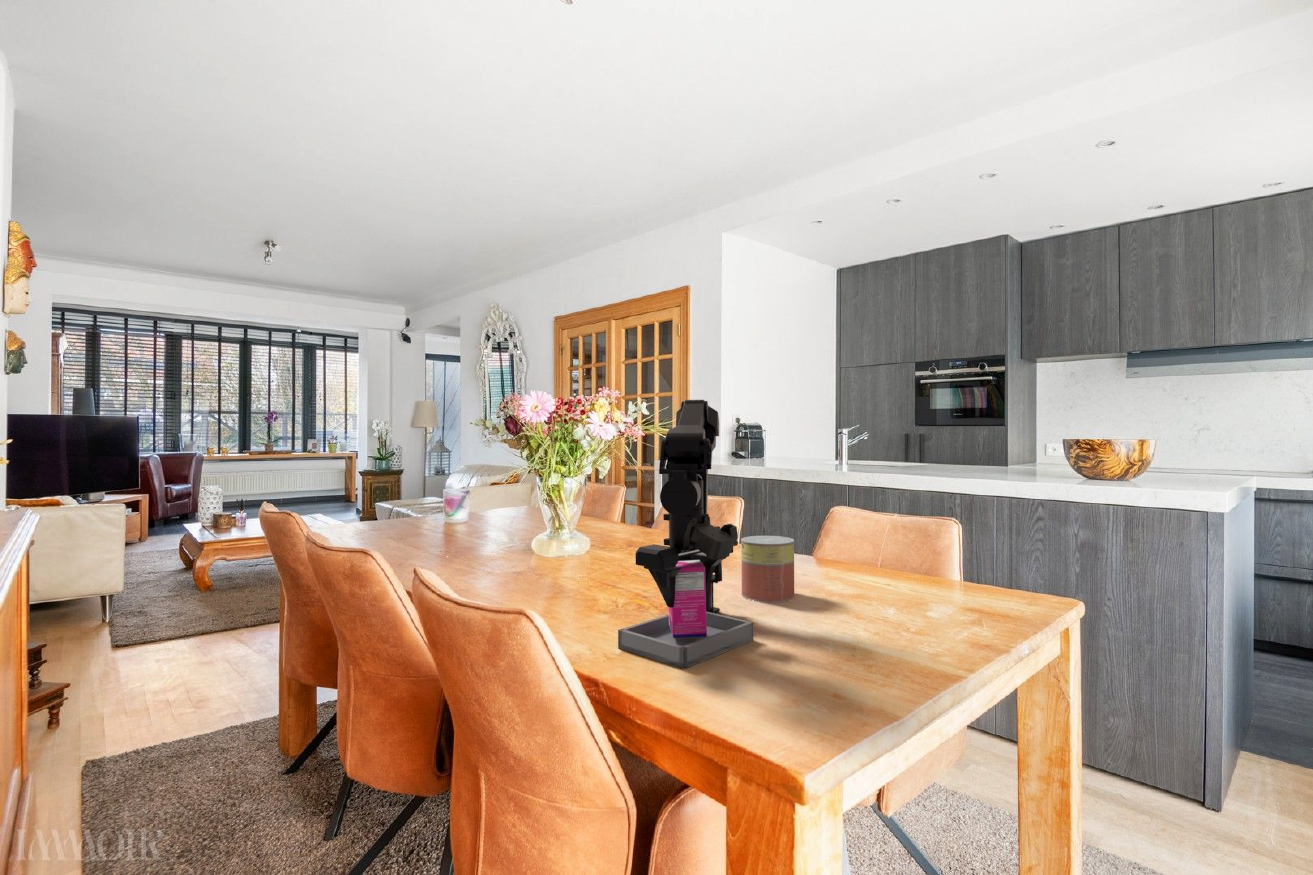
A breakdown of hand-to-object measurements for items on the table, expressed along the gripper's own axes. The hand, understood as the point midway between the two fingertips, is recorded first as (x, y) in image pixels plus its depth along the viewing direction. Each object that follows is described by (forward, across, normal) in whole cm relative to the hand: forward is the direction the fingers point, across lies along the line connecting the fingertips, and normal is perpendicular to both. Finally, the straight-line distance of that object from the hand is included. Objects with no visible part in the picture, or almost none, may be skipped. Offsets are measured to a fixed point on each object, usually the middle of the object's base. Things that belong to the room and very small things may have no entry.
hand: (686, 602), depth 109 cm
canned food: (+7, +36, +8) cm, 37 cm away
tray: (+7, 0, 0) cm, 7 cm away
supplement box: (+5, 0, 0) cm, 5 cm away
